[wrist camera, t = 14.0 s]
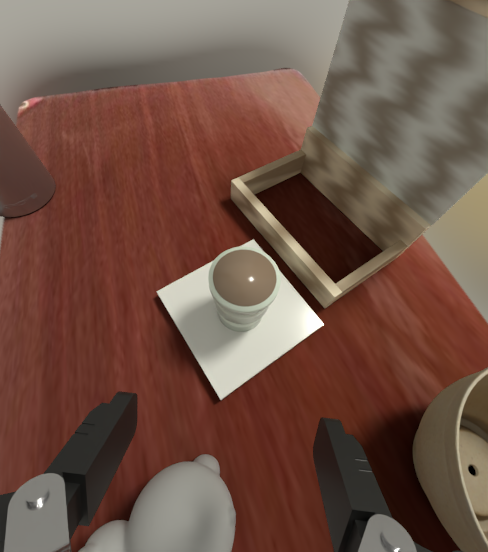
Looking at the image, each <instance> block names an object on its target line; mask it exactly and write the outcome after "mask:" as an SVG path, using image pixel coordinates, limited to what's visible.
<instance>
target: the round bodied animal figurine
mask: <svg viewBox="0 0 488 552" xmlns="http://www.w3.org/2000/svg"><path fill="white" fill-rule="evenodd" d="M219 475H220V467H219V464H218V461H217V460H216V459H215V458H214V457H213V456H211V455H208V454H203V455H200V456H198V457H197V458H196V459H195V460H194V461H193V462H180V463H176V464H173V465H171V466H169V467H167V468H165V469H163V470H162V471H160V472H159V473H158V474H156V475H155V476H154V477H153V478H152V479H151V480H150V481H149V482H148V483H147V485H146V486H145V487H144V489H143V490H142V492H141V493H140V495H139V496H138V498H137V500H136V502H135V505H134V507H133V510H132V512H131V516H130V519H129V521H125V520H115V521H111V522H109V523H107V524H105V525H103V526H101V527H100V528H99V529H97V530H96V531H95V532H94V533H93V534H92V535H91V536H90V538H89V539H88V541H87V543H86V544H85V546H84V547H83V548H81V549H80V550H79V551H78V552H231V550H232V546H233V541H234V534H235V523H236V512H235V509H234V507H233V502H232V499H231V496H230V493H229V491H228V488H227V486H226V485H225V483H224V481H223V480H222V479H221V477H220V476H219Z"/></svg>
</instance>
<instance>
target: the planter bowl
mask: <svg viewBox="0 0 488 552" xmlns="http://www.w3.org/2000/svg"><path fill="white" fill-rule="evenodd" d="M413 462H414V467H415V471H416V474H417V477H418V480H419V482H420V484H421V486H422V489H423V490H424V492H425V494H426V495H427V497H428V500H429V502H430V504H431V506H432V508H433V509H434V511H435V513H436V515H437V517H438V518H439V520H440V522H441V523H442V525H443V526H444V528H445V529H446V531H447V532H448V534H449V535H450V537H451V538H452V539H453V541H454V542H455V543H456V545H457V546H458V547H459V548H460V550H461V551H463V552H488V368H486V369H484V370H482V371H480V372H478V373H474V374H471V375H469V376H467V377H464V378H462V379H460V380H458V381H456V382H454V383H453V384H451V385H450V386H448V387H447V388H445V389H444V390H443V391H442V392H440V393H439V394H438V395H437V396H436V397H435V398H434V400H433V401H432V402H431V403H430V405H429V406H428V408H427V409H426V411H425V413H424V415H423V417H422V419H421V422H420V424H419V428H418V430H417V432H416V434H415V437H414V442H413ZM470 465H472V466H473V467H474V469H475V472H476V474H475V475H471V474H470V473H469V471H468V467H469V466H470Z"/></svg>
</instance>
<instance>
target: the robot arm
mask: <svg viewBox="0 0 488 552" xmlns="http://www.w3.org/2000/svg"><path fill="white" fill-rule="evenodd" d="M54 192H55V181H54V179H53V178H52V176H51V175H50V173H49V172H48V171H47V169H46V168H45V166H44V165H43V164H42V162H41V161H40V159H39V158H38V157H37V155H36V154H35V152H34V151H33V149H32V148H31V147H30V145H29V144H28V143H27V141H26V140H25V138H24V137H23V136H22V134H21V133H20V131H19V130H18V129H17V127H16V126H15V124H14V123H13V122H12V120H11V119H10V118H9V116H8V115H7V114H6V112H5V111H4V109H3V108H2V106H1V105H0V216H3V217H17V216H22V215H26V214H29V213H31V212H33V211H36V210H38V209H39V208H41V207H42V206H44V205H45V204H46V203H47V202H48V201H49V200H50V199H51V197H52V196H53V194H54ZM136 426H137V394H136V393H128V392H120V391H119V392H117V393H116V395H115V396H114V398H113V399H112V401H111V402H110V403H109V404H107V403H102V404H100V405H99V406H97V407H96V408H95V409H93V410H92V411H91V412H90V413H89V414H88V416H87V417H86V418H85V420H84V421H83V422H82V425H80V426H79V427H78V429H77V430H76V431H75V434H73V435H72V437H71V438H70V439H69V441H68V442H67V443H66V445H65V446H64V447H63V449H62V450H61V451H60V453H59V454H58V455H57V457H56V458H55V459H54V461H53V462H52V463H51V465H50V466H49V467H48V469H47V470H46V471H45V472H44V474H42V475H39V476H37V477H35V478H33V479H31V480H29V481H28V482H26V483H25V484H24V485H22V486H21V487H20V488H19V489H18V490H17V491H16V492H12V493H8V494H3V495H0V552H71V543H70V539H71V537H72V535H73V534H74V532H75V530H76V528H77V526H78V525H84V526H89V525H90V523H91V521H92V519H93V517H94V515H95V513H96V511H97V509H98V507H99V505H100V503H101V501H102V499H103V497H104V495H105V493H106V491H107V489H108V487H109V485H110V483H111V481H112V479H113V477H114V475H115V473H116V471H117V469H118V466H119V464H120V462H121V460H122V458H123V456H124V454H125V452H126V450H127V448H128V446H129V444H130V442H131V440H132V438H133V436H134V433H135V430H136ZM313 458H314V464H315V468H316V473H317V477H318V481H319V486H320V490H321V495H322V499H323V504H324V508H325V513H326V517H327V522H328V526H329V531H330V535H331V540H332V544H333V548H334V552H432V551H430V550H428V549H426V548H424V547H422V546H420V545H418V544H417V543H415V542H414V541H413V540H412V538H411V537H410V535H409V534H408V532H407V531H406V530H405V529H404V528H403V527H402V526H401V525H400V524H399V523H398V522H397V521H395V520H394V519H393V518H392V516H391V513H390V511H389V509H388V506H387V504H386V502H385V499H384V497H383V495H382V492H381V490H380V488H379V485H378V483H377V481H376V478H375V476H374V474H373V473H372V469H371V467H370V464H369V462H368V461H367V457H366V455H365V453H364V450H363V448H362V446H361V445H360V444H359V442H358V441H357V440H356V439H355V438H354V436H353V435H349V434H345V431H344V429H343V426H342V423H341V421H340V420H338V419H330V418H321V419H320V421H319V425H318V429H317V433H316V437H315V441H314V446H313ZM453 552H463V551H453Z"/></svg>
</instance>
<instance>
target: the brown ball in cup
mask: <svg viewBox="0 0 488 552" xmlns="http://www.w3.org/2000/svg"><path fill="white" fill-rule="evenodd" d="M208 280H209V288H210V292H211V294H212V297H213V298H214V304H215V307H216V309H217V314H218V317H219V319H220V321H221V322H222V324H223V325H224V326H226V327H227V328H228V329H230V330H233V331H237V332H245V331H249V330H251V329H253V328H255V327H256V326H257V325H258V324H259V323H260V321H261V319H262V317H263V315H264V314H265V313H266V312H267V310H268V308H269V306H270V305H271V304H272V302H273V301H274V300H275V298H276V296H277V293H278V291H279V288H280V284H281V276H280V271H279V269H278V266H277V265H276V263H275V262H274V260H273V259H272V258H271V257H270V256H269V255H267V254H266V253H264V252H263V251H261V250H258V249H256V248H252V247H235V248H231V249H228V250H226V251H224V252H223V253H221V254H220V255H219V256H218V257H217V258H216V259H215V260H214V261H213V263H212V265H211V267H210V270H209V275H208Z"/></svg>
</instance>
